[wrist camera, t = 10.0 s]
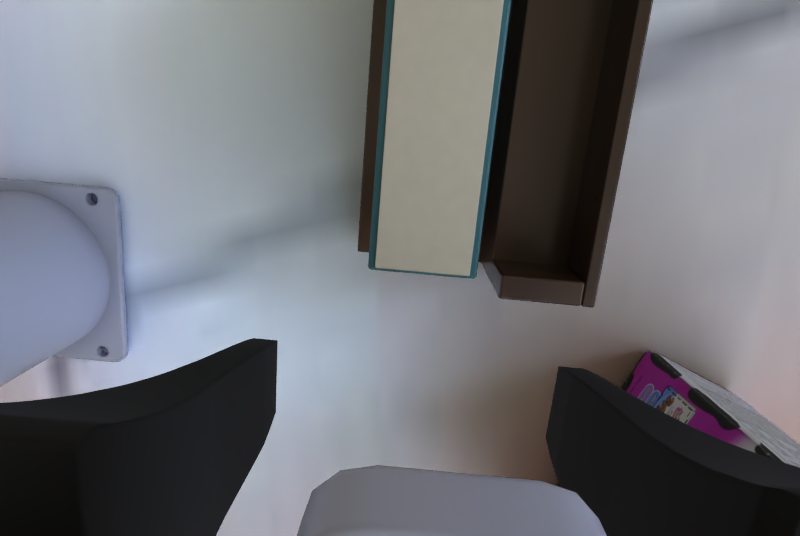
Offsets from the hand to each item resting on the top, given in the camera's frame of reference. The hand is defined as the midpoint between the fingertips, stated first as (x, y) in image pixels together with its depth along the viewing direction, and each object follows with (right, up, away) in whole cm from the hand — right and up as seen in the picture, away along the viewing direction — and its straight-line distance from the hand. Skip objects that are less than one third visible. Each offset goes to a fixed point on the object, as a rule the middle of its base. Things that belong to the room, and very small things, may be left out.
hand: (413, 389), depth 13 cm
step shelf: (+3, +10, +8) cm, 13 cm away
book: (+1, +10, +6) cm, 12 cm away
